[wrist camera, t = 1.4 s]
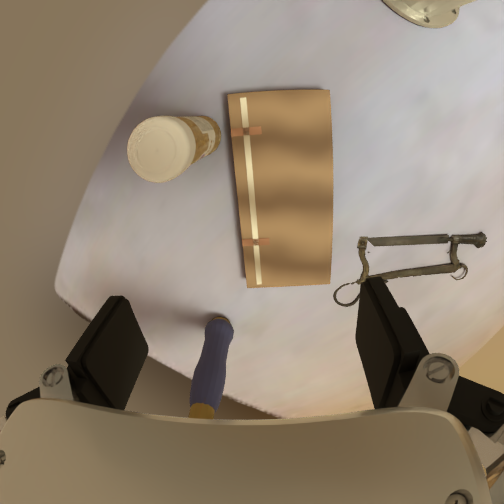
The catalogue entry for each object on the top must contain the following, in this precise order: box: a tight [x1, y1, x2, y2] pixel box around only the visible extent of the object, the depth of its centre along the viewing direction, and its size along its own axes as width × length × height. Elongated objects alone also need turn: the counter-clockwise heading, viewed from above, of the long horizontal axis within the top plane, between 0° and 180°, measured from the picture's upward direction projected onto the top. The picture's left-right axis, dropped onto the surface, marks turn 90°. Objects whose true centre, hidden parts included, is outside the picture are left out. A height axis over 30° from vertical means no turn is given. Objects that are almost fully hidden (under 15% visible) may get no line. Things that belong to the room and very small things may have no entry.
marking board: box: [227, 90, 333, 288], centre depth 31 cm, size 22×10×2 cm, turn 5°
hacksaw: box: [333, 233, 487, 307], centre depth 34 cm, size 24×10×2 cm, turn 95°
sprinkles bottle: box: [127, 116, 221, 183], centre depth 23 cm, size 5×5×13 cm
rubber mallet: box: [189, 317, 234, 419], centre depth 27 cm, size 12×8×30 cm, turn 83°
